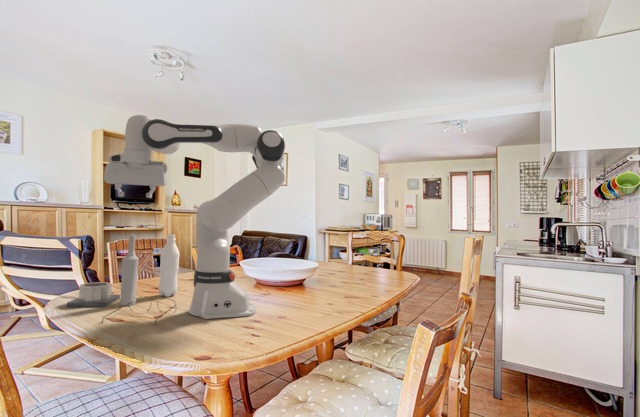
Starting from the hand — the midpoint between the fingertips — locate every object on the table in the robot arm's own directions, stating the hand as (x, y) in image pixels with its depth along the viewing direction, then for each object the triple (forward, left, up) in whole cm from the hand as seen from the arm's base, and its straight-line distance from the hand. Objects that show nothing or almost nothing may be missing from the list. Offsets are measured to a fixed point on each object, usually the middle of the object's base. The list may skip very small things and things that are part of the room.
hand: (135, 197), depth 118 cm
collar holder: (+12, -3, -39) cm, 41 cm away
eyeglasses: (-10, +16, -40) cm, 44 cm away
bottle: (0, 0, -39) cm, 39 cm away
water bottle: (-10, -14, -39) cm, 43 cm away
